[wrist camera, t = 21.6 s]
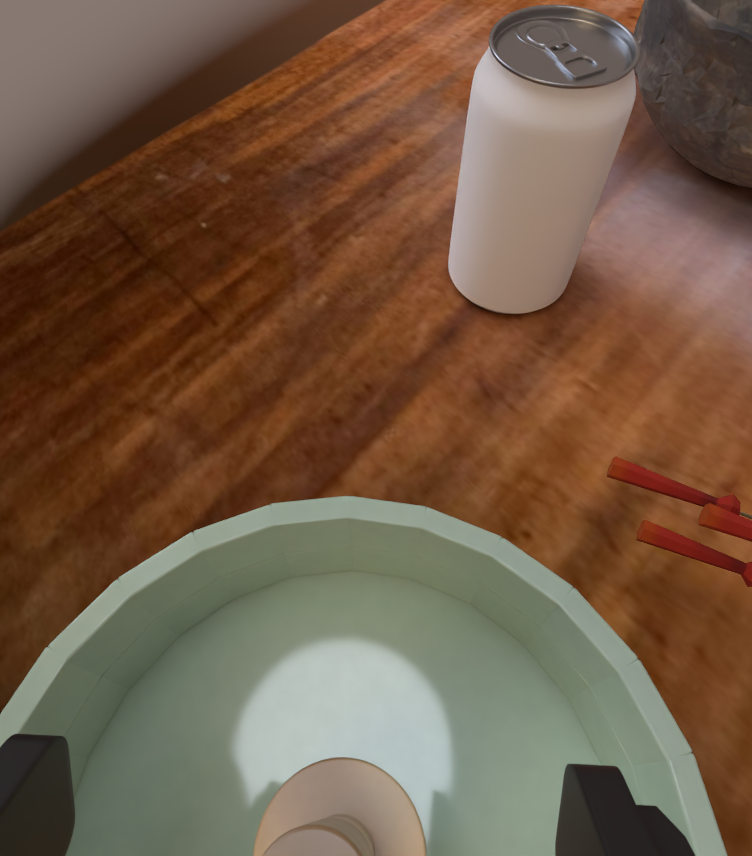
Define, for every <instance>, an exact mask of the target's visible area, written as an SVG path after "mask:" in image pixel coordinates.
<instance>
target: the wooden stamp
mask: <svg viewBox="0 0 752 856" xmlns="http://www.w3.org/2000/svg"><path fill="white" fill-rule="evenodd" d="M253 856H427V854H426V842H425V837H424V831H423V828H422V824H421V821H420V818H419V815H418V813H417V811H416V808H415V806H414V804H413V803H412V801H411V799H410V797H409V796H408V794H407V793H406V791H405V790H404V789H403V788H402V786H401V785H400V784H399V783H398V782H397V781H396V780H395V779H394V778H393V777H392V776H391V775H389V774H388V773H387V772H386V771H384V770H383V769H381V768H379V767H378V766H376V765H374V764H372V763H369V762H367V761H364V760H360V759H356V758H348V757H336V758H329V759H324V760H321V761H318V762H315V763H312V764H310V765H308V766H306V767H304V768H303V769H301V770H300V771H298V772H297V773H295V774H294V775H293V776H292V777H290V778H289V779H288V780H287V781H286V782H285V783H284V784H283V785H282V786H281V788H280V789H279V790H278V791H277V792H276V794H275V795H274V797H273V798H272V800H271V801H270V803H269V804H268V806H267V808H266V810H265V812H264V814H263V817H262V819H261V822H260V824H259V827H258V831H257V835H256V838H255V844H254V850H253Z"/></svg>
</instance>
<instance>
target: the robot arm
mask: <svg viewBox="0 0 752 856" xmlns="http://www.w3.org/2000/svg"><path fill="white" fill-rule="evenodd" d="M74 824H75V804H74V795H73V785H72V775H71V765H70V756H69V747H68V742H67V740H66V738H65V737H63V736H55V735H36V734H14V735H12V736H10V737H9V738H8V739H7V740H6V741H5V742H4V743H3V744H2V746H1V747H0V856H65V855H66V853H67V850H68V848H69V845H70V842H71V838H72V834H73V830H74ZM555 856H695V854H694V852H693V850H692V848H691V846H690V844H689V842H688V840H687V838H686V837H685V835H684V834H683V833H682V832H681V831H680V830H679V829H678V828H677V827H676V826H675V825H674V824H673V823H672V822H671V821H670V820H669V819H668V818H667V817H666V815H665V814H664V813H663V812H662V811H661V810H660V809H659V808H658V807H657V806H649V805H636V803H635V801H634V799H633V797H632V794H631V792H630V790H629V788H628V786H627V783H626V781H625V779H624V777H623V775H622V773H621V771H620V770H619V768H618V767H616V766H608V765H589V764H567V766H566V768H565V772H564V778H563V786H562V794H561V801H560V809H559V817H558V825H557V832H556V841H555Z"/></svg>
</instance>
